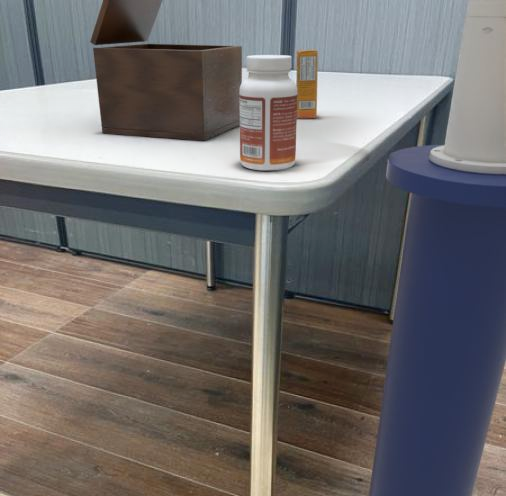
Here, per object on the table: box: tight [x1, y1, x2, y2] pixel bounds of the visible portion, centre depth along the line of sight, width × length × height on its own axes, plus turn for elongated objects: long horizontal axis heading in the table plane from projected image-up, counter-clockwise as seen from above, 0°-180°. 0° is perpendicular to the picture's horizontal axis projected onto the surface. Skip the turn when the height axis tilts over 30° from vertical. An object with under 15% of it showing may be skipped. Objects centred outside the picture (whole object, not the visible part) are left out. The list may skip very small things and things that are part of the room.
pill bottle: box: [239, 54, 298, 172], centre depth 63 cm, size 6×6×11 cm
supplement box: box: [295, 49, 319, 120], centre depth 95 cm, size 3×3×10 cm
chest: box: [92, 43, 243, 142], centre depth 84 cm, size 16×15×11 cm
